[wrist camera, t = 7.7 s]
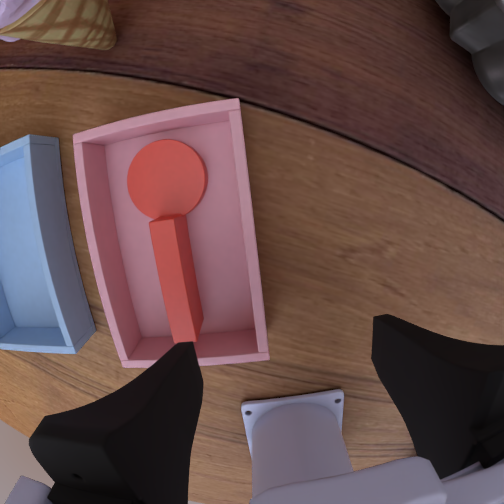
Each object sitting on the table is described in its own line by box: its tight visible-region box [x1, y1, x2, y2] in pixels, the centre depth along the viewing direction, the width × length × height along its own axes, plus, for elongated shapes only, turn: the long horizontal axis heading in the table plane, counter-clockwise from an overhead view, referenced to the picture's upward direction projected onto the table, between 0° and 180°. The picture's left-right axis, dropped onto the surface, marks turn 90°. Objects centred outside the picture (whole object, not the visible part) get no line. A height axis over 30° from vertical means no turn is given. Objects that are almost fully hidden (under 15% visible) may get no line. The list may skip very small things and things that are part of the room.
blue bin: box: [0, 134, 96, 354], centre depth 17 cm, size 14×9×4 cm, turn 7°
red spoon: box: [127, 139, 208, 343], centre depth 17 cm, size 11×5×3 cm, turn 7°
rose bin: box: [73, 98, 270, 368], centre depth 17 cm, size 14×9×4 cm, turn 7°
